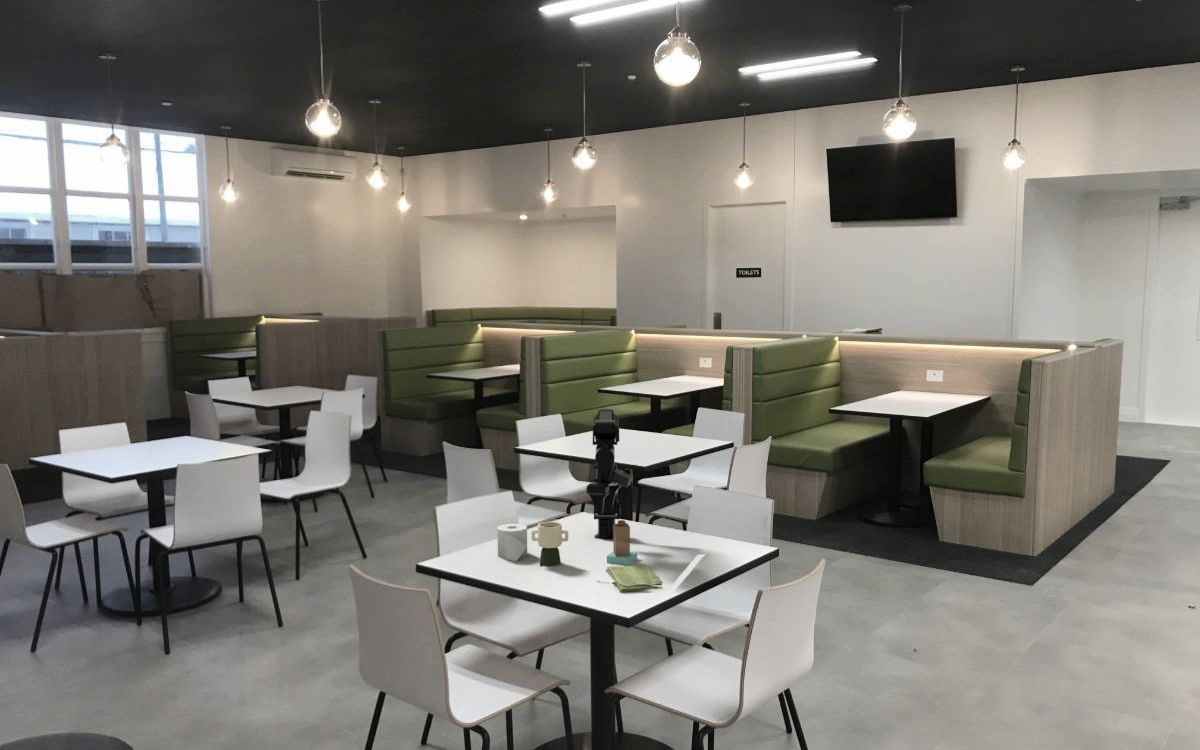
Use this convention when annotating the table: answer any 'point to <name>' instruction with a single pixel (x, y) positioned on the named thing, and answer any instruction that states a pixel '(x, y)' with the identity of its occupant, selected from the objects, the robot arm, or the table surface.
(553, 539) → the character mug
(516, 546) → the toilet tissue
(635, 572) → the washcloth
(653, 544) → the table surface
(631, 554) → the teal slab
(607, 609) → the table surface
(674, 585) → the table surface
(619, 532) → the walnut pillar
